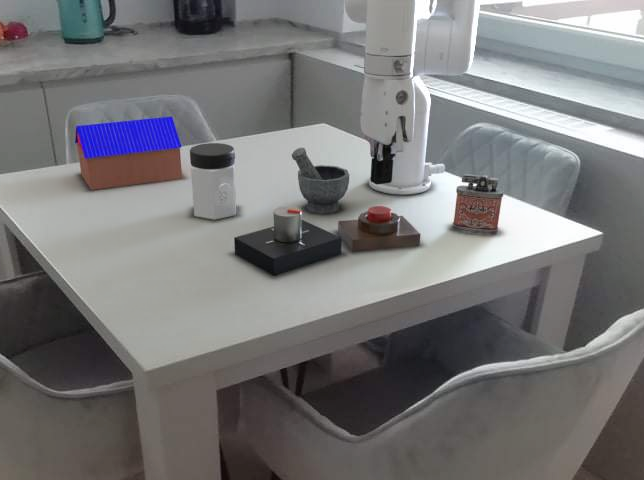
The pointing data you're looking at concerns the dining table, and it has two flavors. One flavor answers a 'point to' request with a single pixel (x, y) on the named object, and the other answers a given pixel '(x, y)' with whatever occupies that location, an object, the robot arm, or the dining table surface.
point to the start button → (379, 214)
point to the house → (129, 152)
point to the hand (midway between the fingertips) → (381, 182)
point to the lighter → (478, 205)
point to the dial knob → (287, 224)
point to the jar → (213, 180)
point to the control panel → (287, 249)
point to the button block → (378, 233)
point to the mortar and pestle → (320, 183)
